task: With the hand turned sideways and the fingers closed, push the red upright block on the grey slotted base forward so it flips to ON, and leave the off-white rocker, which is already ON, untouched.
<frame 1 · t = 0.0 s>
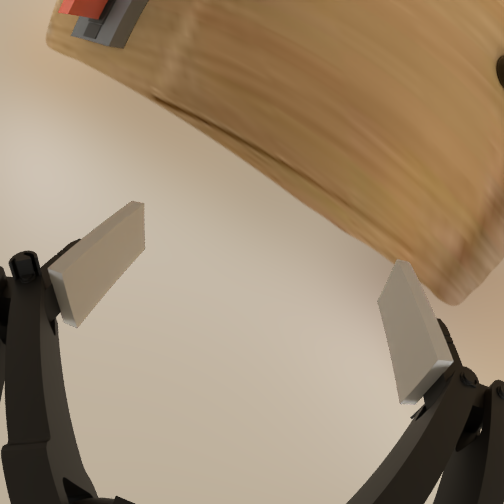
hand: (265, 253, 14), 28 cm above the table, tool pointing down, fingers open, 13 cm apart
red upright block: (88, 0, 21), point 10 cm above the table, hinge at -18.0°
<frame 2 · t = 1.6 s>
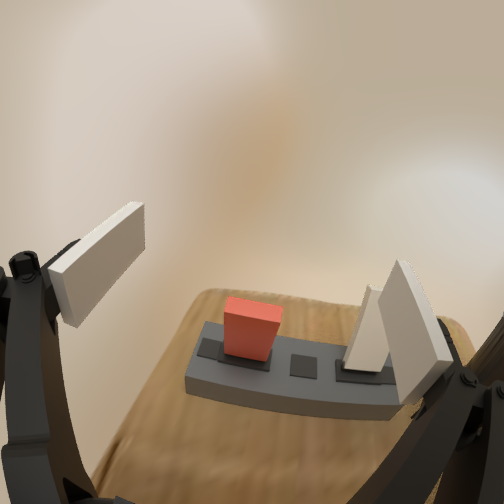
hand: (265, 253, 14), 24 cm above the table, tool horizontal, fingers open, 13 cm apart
red upright block: (249, 334, 29), point 10 cm above the table, hinge at -18.0°
grey slotted base: (295, 384, 35), on the table
white rocker: (374, 332, 31), point 10 cm above the table, hinge at 18.0°
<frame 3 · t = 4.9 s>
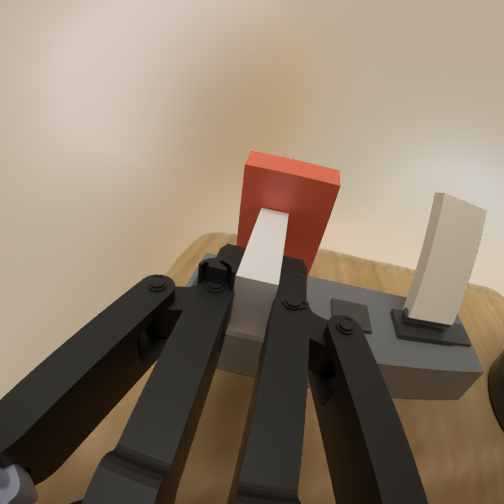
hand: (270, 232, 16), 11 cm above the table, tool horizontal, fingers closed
red upright block: (277, 240, 18), point 10 cm above the table, hinge at -15.2°, touching gripper
grey slotted base: (333, 349, 24), on the table
white rocker: (446, 264, 20), point 10 cm above the table, hinge at 18.0°
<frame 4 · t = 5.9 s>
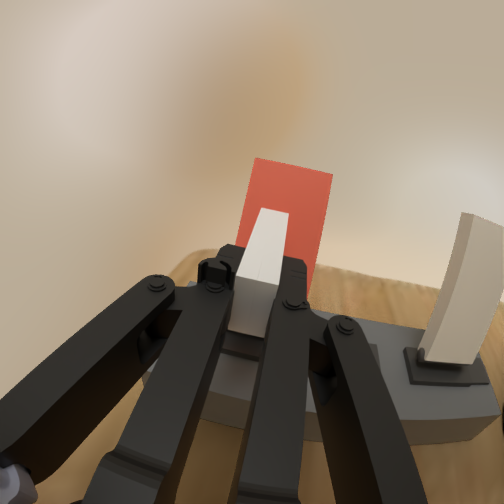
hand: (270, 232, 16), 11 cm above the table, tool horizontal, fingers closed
red upright block: (276, 251, 18), point 9 cm above the table, hinge at 30.4°, touching gripper
grey slotted base: (336, 392, 20), on the table
white rocker: (470, 297, 16), point 10 cm above the table, hinge at 18.0°
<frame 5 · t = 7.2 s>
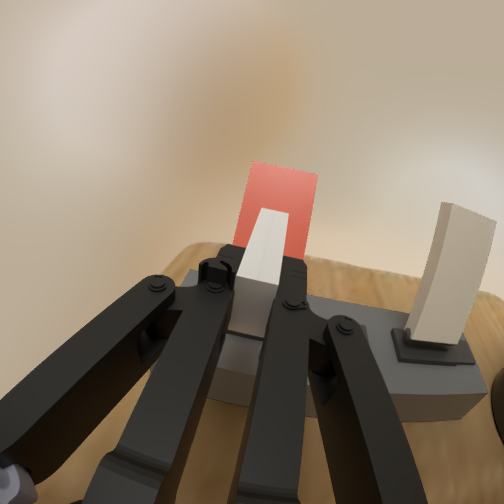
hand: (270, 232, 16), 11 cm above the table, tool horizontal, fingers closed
red upright block: (270, 239, 21), point 9 cm above the table, hinge at 39.3°
grey slotted base: (329, 372, 22), on the table
white rocker: (452, 280, 18), point 10 cm above the table, hinge at 18.0°
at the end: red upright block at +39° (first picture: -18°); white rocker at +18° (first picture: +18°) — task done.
